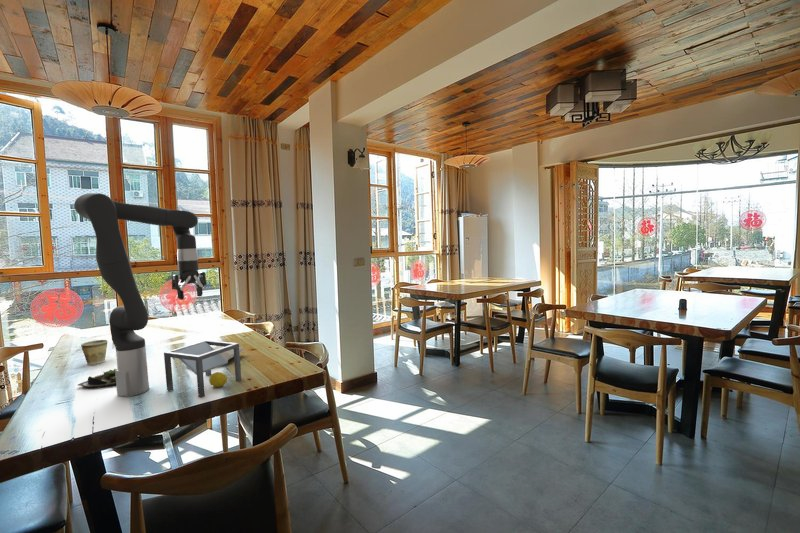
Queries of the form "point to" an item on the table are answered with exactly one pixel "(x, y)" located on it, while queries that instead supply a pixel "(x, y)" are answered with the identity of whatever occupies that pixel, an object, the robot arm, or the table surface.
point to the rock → (227, 352)
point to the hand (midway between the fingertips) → (190, 297)
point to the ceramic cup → (94, 351)
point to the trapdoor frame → (199, 365)
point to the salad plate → (101, 380)
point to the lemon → (218, 379)
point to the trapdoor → (207, 363)
